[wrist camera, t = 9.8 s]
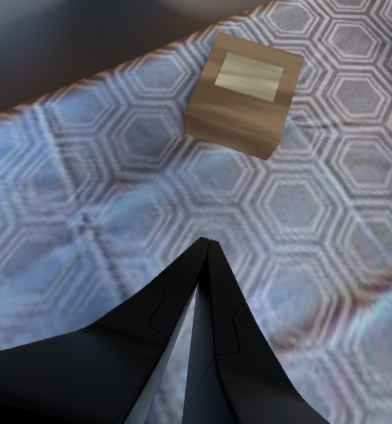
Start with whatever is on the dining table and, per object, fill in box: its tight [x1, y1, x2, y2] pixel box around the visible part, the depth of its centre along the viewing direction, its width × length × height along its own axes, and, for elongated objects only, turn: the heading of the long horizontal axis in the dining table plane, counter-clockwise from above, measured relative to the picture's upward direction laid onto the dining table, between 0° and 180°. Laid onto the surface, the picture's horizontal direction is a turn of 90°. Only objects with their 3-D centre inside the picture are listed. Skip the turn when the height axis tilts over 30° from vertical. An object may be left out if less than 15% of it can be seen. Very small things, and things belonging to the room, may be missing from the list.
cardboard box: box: [183, 32, 304, 161], centre depth 26 cm, size 4×11×13 cm
